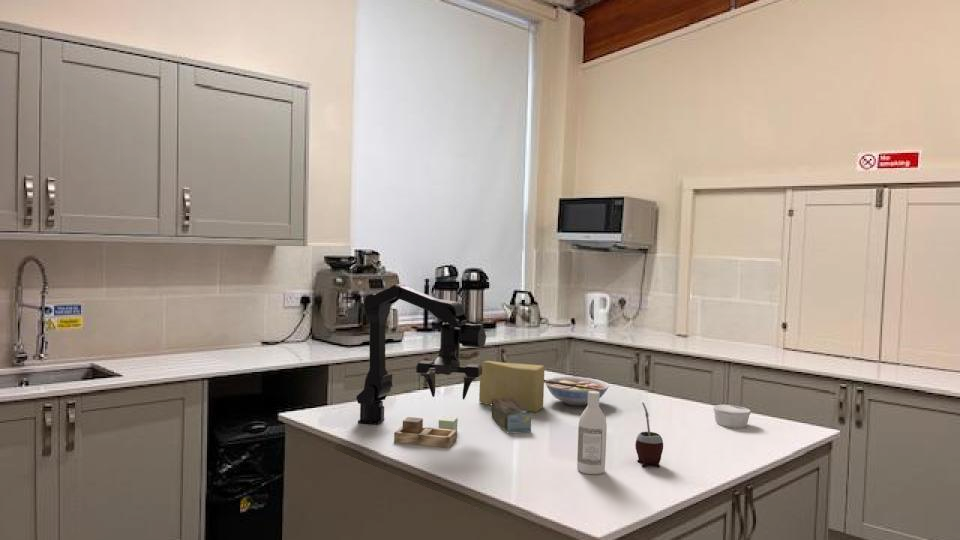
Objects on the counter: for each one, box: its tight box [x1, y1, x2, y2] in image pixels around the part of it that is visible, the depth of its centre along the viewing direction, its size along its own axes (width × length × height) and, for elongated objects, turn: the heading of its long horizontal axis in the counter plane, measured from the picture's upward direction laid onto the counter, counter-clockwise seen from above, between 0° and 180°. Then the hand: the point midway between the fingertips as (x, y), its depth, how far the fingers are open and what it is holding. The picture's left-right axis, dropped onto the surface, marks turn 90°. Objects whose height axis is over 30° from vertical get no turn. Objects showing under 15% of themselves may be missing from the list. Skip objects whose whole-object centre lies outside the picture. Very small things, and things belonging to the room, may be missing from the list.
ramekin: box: [713, 404, 751, 429], centre depth 224 cm, size 11×11×5 cm
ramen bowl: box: [544, 376, 610, 407], centre depth 246 cm, size 25×23×8 cm
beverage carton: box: [491, 398, 532, 433], centre depth 216 cm, size 8×19×7 cm, turn 13°
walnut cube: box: [402, 416, 424, 434], centre depth 196 cm, size 4×4×4 cm
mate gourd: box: [634, 402, 664, 469], centre depth 181 cm, size 8×8×15 cm
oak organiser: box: [393, 425, 458, 448], centre depth 196 cm, size 16×8×3 cm, turn 77°
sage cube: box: [438, 416, 459, 431], centre depth 204 cm, size 4×4×4 cm
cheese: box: [478, 360, 545, 413], centre depth 239 cm, size 22×10×15 cm, turn 69°
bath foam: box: [576, 391, 607, 476], centre depth 174 cm, size 7×7×20 cm
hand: (448, 397), depth 203 cm, fingers open, 9 cm apart
